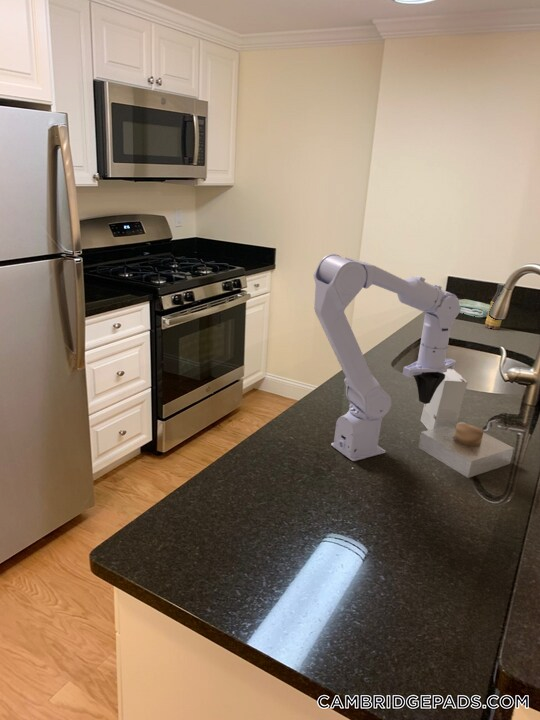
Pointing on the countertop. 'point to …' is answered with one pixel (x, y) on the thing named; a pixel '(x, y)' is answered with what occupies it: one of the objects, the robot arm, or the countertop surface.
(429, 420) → the skincare box
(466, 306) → the towel
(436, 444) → the block
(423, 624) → the countertop surface
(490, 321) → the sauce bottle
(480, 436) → the pin
